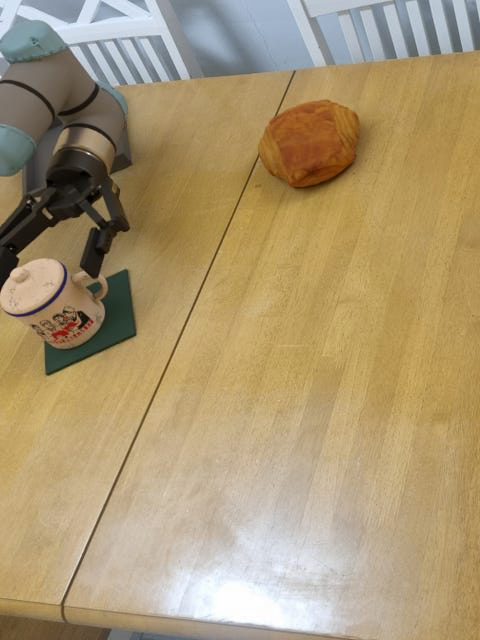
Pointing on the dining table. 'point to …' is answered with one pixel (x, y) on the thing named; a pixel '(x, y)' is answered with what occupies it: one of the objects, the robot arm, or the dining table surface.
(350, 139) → the croissant
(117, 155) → the tray
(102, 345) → the mat
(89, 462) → the dining table surface
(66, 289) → the teacup with lid
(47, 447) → the dining table surface
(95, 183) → the robot arm
